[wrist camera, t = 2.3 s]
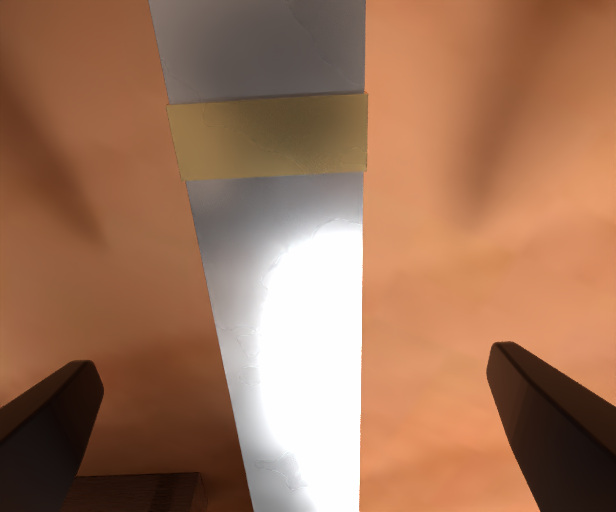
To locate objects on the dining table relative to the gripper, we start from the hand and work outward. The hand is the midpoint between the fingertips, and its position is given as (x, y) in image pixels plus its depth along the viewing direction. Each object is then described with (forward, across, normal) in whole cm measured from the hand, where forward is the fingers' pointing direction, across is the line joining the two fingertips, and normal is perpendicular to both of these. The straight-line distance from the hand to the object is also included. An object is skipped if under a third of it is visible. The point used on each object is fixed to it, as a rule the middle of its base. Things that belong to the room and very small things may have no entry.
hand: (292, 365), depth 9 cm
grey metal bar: (+3, 0, 0) cm, 3 cm away
